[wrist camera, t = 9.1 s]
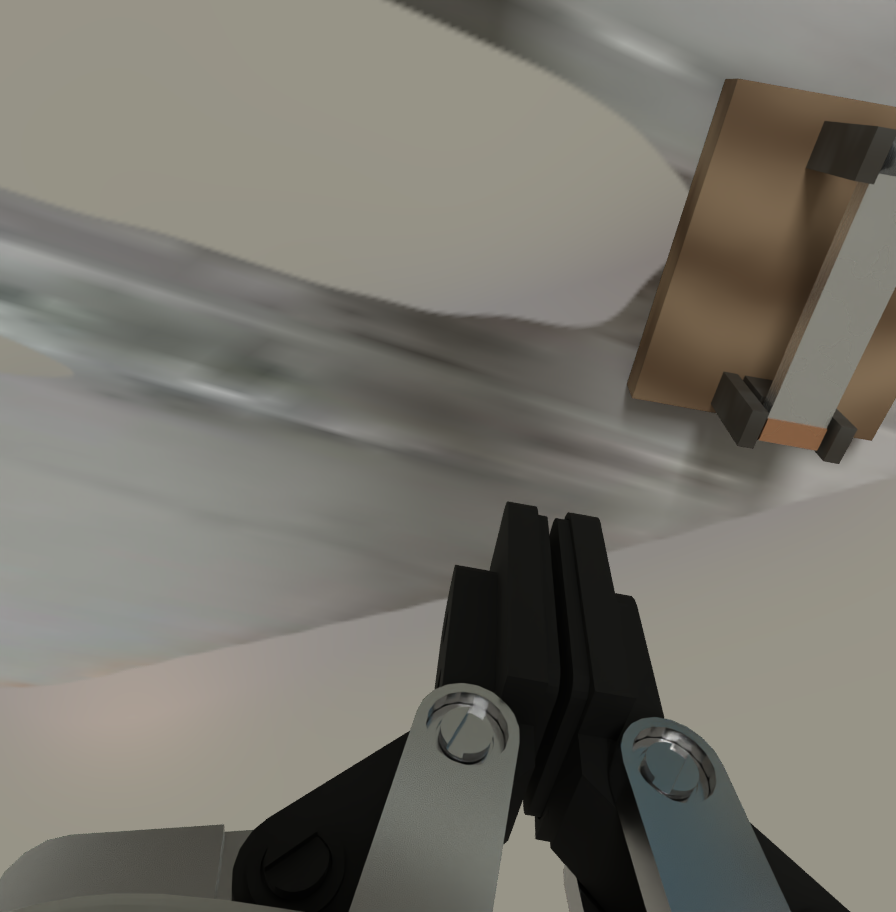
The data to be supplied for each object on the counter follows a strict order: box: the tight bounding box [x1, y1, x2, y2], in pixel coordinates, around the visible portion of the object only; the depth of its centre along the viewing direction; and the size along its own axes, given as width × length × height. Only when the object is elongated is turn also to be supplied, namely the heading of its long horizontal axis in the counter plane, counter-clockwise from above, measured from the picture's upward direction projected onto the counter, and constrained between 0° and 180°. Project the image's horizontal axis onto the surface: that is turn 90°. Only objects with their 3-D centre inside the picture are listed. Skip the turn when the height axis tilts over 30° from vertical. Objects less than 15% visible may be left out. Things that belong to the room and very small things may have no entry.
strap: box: [757, 137, 896, 451], centre depth 30 cm, size 14×3×2 cm, turn 171°
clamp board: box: [627, 79, 896, 464], centre depth 32 cm, size 16×14×7 cm
